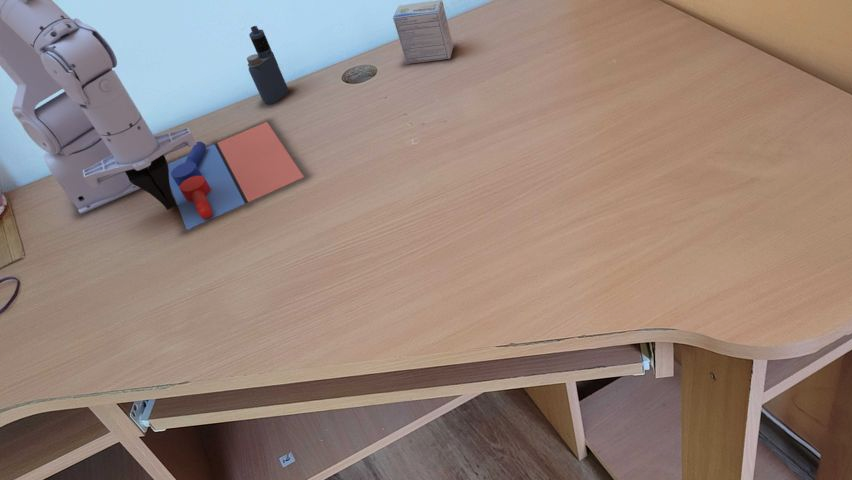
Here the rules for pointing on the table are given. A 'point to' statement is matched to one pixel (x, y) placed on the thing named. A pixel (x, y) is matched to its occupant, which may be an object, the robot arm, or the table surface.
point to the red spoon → (197, 194)
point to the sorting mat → (238, 172)
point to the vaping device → (265, 69)
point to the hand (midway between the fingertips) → (170, 204)
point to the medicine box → (423, 31)
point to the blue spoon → (189, 164)
